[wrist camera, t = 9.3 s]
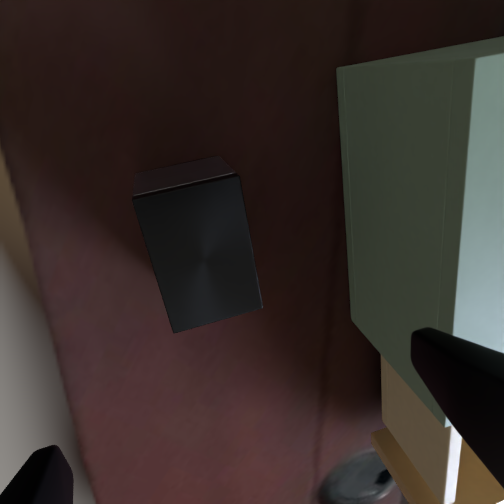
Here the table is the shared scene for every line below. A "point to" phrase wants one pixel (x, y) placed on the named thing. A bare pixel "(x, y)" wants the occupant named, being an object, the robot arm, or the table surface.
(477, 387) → the robot arm
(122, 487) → the table surface
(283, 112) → the table surface
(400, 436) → the drawer
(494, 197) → the cabinet
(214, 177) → the black lidded box
